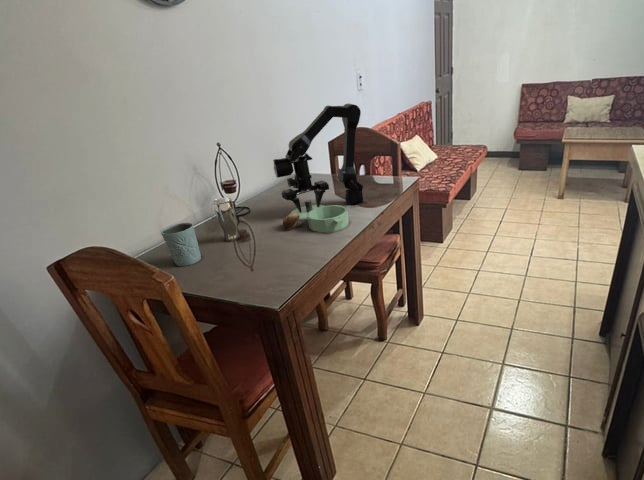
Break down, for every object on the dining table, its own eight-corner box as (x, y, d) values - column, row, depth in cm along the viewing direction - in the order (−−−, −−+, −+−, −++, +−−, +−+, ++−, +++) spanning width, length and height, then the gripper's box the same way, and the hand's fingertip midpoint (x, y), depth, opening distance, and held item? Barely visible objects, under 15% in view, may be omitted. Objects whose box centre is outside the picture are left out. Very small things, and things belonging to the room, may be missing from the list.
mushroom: (308, 216, 162) (295, 206, 159) (300, 231, 158) (287, 221, 155) (296, 223, 168) (284, 213, 165) (289, 238, 163) (276, 228, 160)
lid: (319, 204, 184) (316, 192, 182) (336, 213, 172) (334, 200, 170) (284, 214, 177) (281, 201, 174) (300, 224, 165) (297, 210, 162)
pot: (334, 213, 173) (332, 201, 170) (359, 226, 158) (357, 213, 155) (300, 223, 166) (297, 211, 164) (323, 238, 151) (321, 224, 148)
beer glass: (225, 243, 155) (213, 204, 148) (222, 237, 161) (210, 200, 153) (244, 238, 158) (233, 200, 150) (240, 233, 163) (229, 195, 156)
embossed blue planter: (173, 269, 140) (159, 236, 134) (173, 258, 148) (161, 226, 142) (204, 262, 143) (193, 229, 137) (203, 251, 151) (192, 220, 145)
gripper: (314, 164, 176) (321, 200, 184) (272, 174, 168) (281, 211, 176) (326, 168, 168) (332, 206, 176) (283, 179, 160) (291, 218, 168)
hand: (309, 210), depth 174 cm, fingers open, 8 cm apart
